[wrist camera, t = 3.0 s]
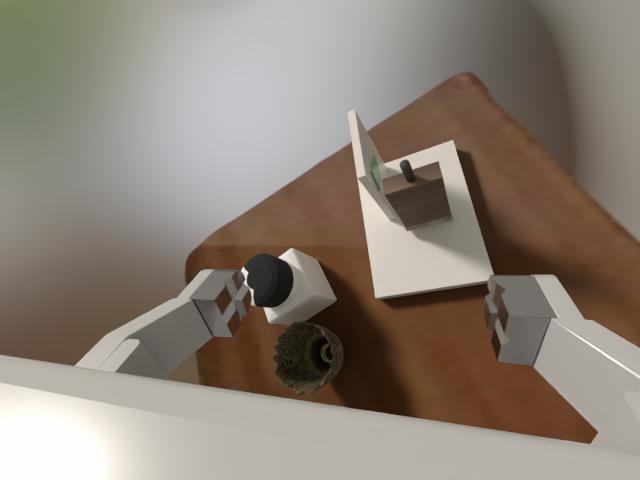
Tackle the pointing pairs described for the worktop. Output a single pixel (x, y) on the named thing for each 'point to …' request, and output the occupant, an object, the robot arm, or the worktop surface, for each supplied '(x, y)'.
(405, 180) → the lever
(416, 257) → the stand
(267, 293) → the medicine bottle
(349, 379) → the worktop surface
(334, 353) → the cup
